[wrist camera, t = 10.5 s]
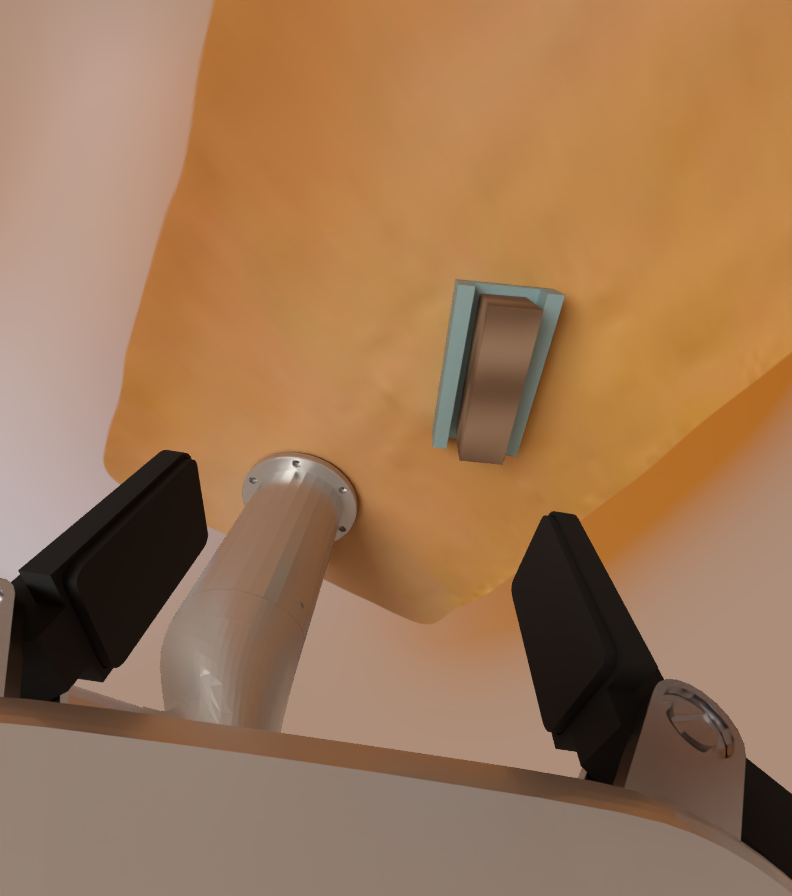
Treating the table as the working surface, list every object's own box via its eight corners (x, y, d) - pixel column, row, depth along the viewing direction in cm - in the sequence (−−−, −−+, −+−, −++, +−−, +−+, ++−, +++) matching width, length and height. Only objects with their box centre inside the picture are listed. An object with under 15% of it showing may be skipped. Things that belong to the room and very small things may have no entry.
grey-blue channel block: (510, 439, 35) (516, 456, 33) (432, 431, 36) (432, 447, 33) (552, 288, 28) (565, 295, 26) (455, 279, 29) (458, 284, 26)
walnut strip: (493, 434, 34) (502, 464, 30) (455, 431, 34) (459, 460, 30) (525, 297, 28) (543, 310, 24) (479, 293, 28) (489, 305, 24)
